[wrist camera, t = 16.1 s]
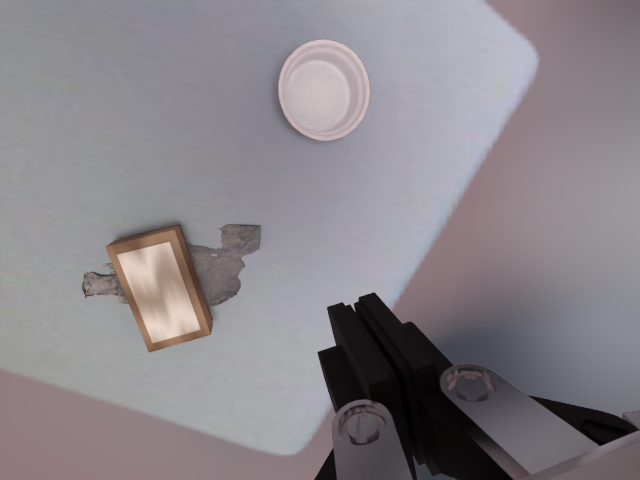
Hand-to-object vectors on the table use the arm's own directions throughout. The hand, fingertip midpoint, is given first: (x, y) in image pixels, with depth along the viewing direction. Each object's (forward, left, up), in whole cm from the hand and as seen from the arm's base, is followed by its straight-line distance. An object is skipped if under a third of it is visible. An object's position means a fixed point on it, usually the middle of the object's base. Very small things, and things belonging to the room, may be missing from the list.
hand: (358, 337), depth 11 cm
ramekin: (-10, +7, -29) cm, 31 cm away
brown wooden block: (+5, -11, -26) cm, 29 cm away
